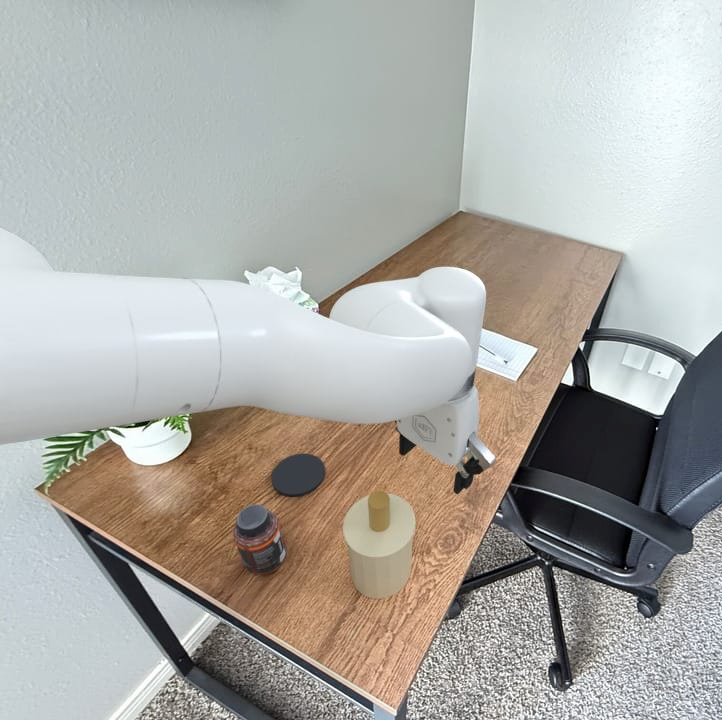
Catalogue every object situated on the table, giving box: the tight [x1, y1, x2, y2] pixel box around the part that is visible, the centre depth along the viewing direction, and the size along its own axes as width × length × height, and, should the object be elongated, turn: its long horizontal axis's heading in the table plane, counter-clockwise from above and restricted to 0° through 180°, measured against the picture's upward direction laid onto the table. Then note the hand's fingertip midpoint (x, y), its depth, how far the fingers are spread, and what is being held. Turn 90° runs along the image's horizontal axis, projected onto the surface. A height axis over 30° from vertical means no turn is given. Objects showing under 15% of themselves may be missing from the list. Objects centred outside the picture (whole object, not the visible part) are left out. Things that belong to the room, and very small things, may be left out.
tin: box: [347, 535, 414, 600], centre depth 68 cm, size 9×9×12 cm
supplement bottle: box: [232, 503, 287, 577], centre depth 68 cm, size 6×6×11 cm
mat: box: [270, 452, 326, 498], centre depth 83 cm, size 9×9×1 cm
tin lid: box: [342, 490, 417, 559], centre depth 63 cm, size 10×10×7 cm
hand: (434, 467), depth 64 cm, fingers open, 9 cm apart
